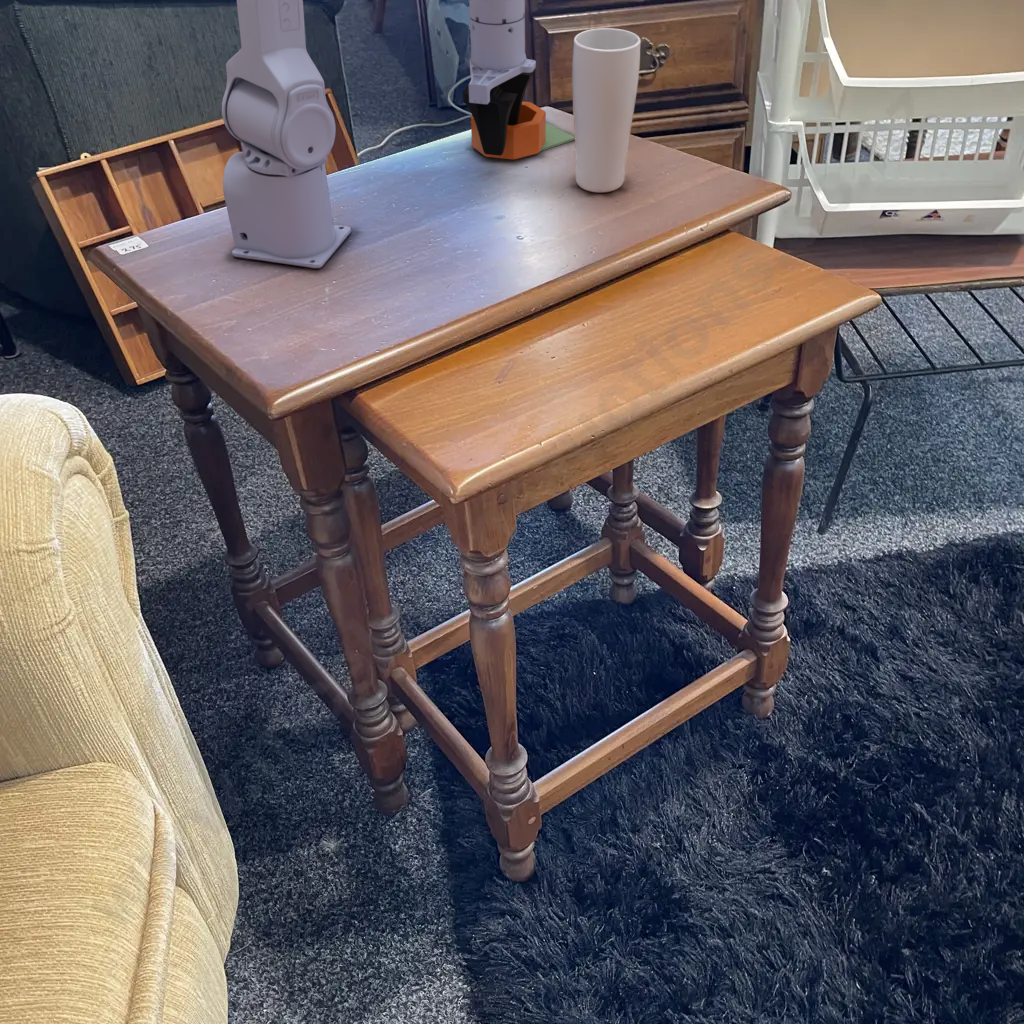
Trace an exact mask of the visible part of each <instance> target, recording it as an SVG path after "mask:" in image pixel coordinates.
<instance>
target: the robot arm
mask: <svg viewBox="0 0 1024 1024" xmlns="http://www.w3.org/2000/svg"><path fill="white" fill-rule="evenodd" d="M468 2H469V4H468V5H469V33H470V36H469V37H470V58H469V75H470V81H469V83H468V85H467V86H466V87H465V88H464V89H463V90H462V99H463V102H464V104H465V105H466V107H467V108H468V110H469V112H470V114H471V116H473V118H474V121H475V123H476V126H477V130H478V133H479V137H480V141H481V145H482V148H483V151H484V154H490V155H499V156H501V155H502V154H503V152H504V148H505V143H506V134H507V125H511V126H513V125H517V124H518V120H519V115H520V109H521V105H522V101H523V100H524V97H525V94H526V91H527V88H528V85H529V83H530V81H531V79H532V77H533V74H534V71H535V69H536V67H537V61H536V60H534V59H528V58H527V55H526V17H525V16H526V0H468ZM236 7H237V19H238V26H239V36H240V37H239V38H240V45H241V47H240V48H239V50H238V51H237V52H236V53H234V55H233V56H232V57H230V58H229V59H228V60H227V62H226V63H225V71H226V85H225V86H226V87H225V90H224V94H223V97H222V101H221V117H222V121H223V123H224V126H225V128H226V129H227V131H228V132H229V134H230V135H231V136H232V137H233V138H235V139H236V140H237V141H239V142H240V146H241V151H237V152H234V153H233V154H232V155H230V157H229V158H228V160H227V162H226V164H225V167H224V170H223V178H222V191H223V197H224V202H225V207H226V211H227V215H228V220H229V224H230V229H231V234H232V238H233V242H234V246H235V247H234V248H233V249H232V251H231V254H232V256H233V257H235V258H240V259H250V260H255V261H263V262H269V263H275V264H276V263H277V264H283V265H284V264H285V265H291V266H297V267H304V268H312V269H321V268H323V266H325V264H326V262H327V261H328V260H329V259H330V258H331V257H332V256H333V254H335V252H336V251H337V249H338V248H339V247H340V246H341V245H342V243H344V241H345V240H346V239H347V237H348V236H349V235H350V234H351V233H352V228H351V227H350V226H348V225H340V224H334V223H335V222H334V217H333V210H332V204H331V203H332V202H331V196H330V189H329V182H328V175H327V168H326V164H327V163H328V156H329V155H330V153H331V151H332V149H333V147H334V144H335V140H336V131H337V130H336V129H337V127H336V120H335V117H334V113H333V112H332V109H331V108H330V106H329V103H328V100H327V97H326V88H325V87H326V86H325V81H324V78H323V77H322V75H321V73H320V70H318V68H317V66H316V65H315V63H314V61H313V59H312V58H311V56H310V54H309V53H308V50H307V45H306V44H307V41H306V27H305V12H304V1H303V0H236ZM523 102H524V101H523Z"/></svg>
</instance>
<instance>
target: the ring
mask: <svg viewBox="0 0 1024 1024" xmlns="http://www.w3.org/2000/svg"><path fill="white" fill-rule="evenodd" d="M546 117H547V112H546V110H544V109H542V108H541V107H539V106H538V105H536V104H534V103H533V102H530V101H522V105H521V109H520V115H519V120H518V124H517V125H513V126H511V125H507V134H506V143H505V148H504V152H503V154H502V155H501V156H499V155H490V154H484V151H483V148H482V145H481V141H480V137H479V133H478V130H477V126H476V123H475V121H474V118H473V116H472V115H470V131H471V132H470V133H471V134H470V135H471V147H472V148H473V149H475V150H476V151H478V152H479V153H480V154H481V155H483V157H486V158H495V159H503V160H517V159H521V158H525V157H529V156H533V155H536V154H539V153H540V152H541V151H540V150H541V148H542V146H543V145H544V143H545V129H546V123H547V121H546V120H547V118H546Z"/></svg>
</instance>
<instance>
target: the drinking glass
mask: <svg viewBox="0 0 1024 1024" xmlns="http://www.w3.org/2000/svg"><path fill="white" fill-rule="evenodd" d="M641 44H642V40H641V37H640V36H639V35H638V34H637V33H635V32H632V31H630V30H627V29H620V28H614V27H613V28H612V27H600V28H599V27H597V28H592V29H588V30H587V29H586V30H583V31H581V32H579V33H578V34H576V35H575V36H574V37H573V44H572V45H573V46H572V58H571V61H572V62H571V95H572V114H573V115H572V116H573V133H574V135H573V136H574V137H575V140H574V149H575V150H574V152H575V153H574V156H575V170H574V171H575V172H574V173H575V176H574V178H575V183H576V184H577V185H578V186H579V188H581V189H582V190H585V191H588V192H591V193H598V194H599V193H610V192H613V191H616V190H618V189H619V188H621V187H622V186H623V184H624V182H625V178H626V166H627V158H628V151H629V145H630V138H631V132H632V127H633V126H632V125H633V118H634V114H635V108H636V107H635V106H636V100H637V94H638V87H639V79H640V70H641V69H640V67H641Z"/></svg>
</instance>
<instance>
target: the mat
mask: <svg viewBox="0 0 1024 1024" xmlns="http://www.w3.org/2000/svg"><path fill="white" fill-rule="evenodd" d="M572 141H575V135H572V134H570V133H568V132H565V131H564V130H562V129H560V128H558V127H556V126H554V125H552V124H550V123H548V122H546V129H545V143H544V145H543V146H542V148H541V150H540V152H542V151H545V150H548V149H552V148H555V147H557V146H561V145H564V144H566V143H570V142H572Z"/></svg>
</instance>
